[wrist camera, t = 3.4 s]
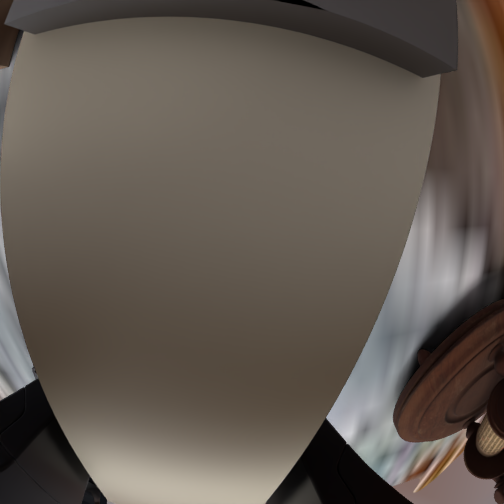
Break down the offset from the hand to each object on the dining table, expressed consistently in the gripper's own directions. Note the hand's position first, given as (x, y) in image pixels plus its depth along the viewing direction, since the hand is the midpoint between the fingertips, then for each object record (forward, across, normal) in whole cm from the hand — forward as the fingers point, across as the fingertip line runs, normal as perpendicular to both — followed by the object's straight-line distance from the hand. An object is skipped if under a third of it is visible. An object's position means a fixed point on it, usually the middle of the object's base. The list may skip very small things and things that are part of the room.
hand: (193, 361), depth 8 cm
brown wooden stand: (+7, -21, +6) cm, 23 cm away
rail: (+1, 0, -3) cm, 3 cm away
